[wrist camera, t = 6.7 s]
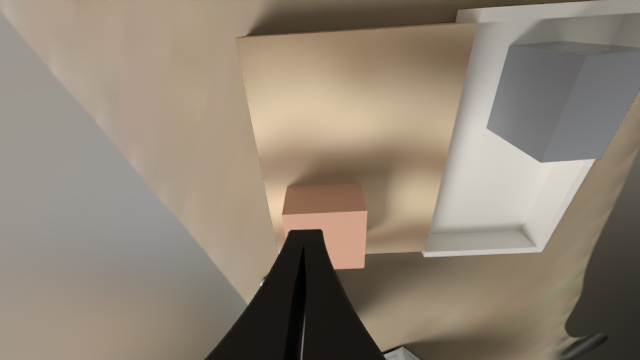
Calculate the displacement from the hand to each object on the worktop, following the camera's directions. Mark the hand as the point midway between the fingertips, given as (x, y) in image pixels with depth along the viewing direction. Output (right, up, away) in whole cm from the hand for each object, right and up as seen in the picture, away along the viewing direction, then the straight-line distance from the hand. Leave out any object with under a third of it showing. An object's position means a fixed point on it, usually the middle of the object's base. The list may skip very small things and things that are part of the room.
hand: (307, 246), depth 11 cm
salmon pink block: (+1, 0, +8) cm, 8 cm away
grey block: (+12, +7, +3) cm, 14 cm away
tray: (+13, +5, +8) cm, 16 cm away
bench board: (+3, +5, +8) cm, 10 cm away
